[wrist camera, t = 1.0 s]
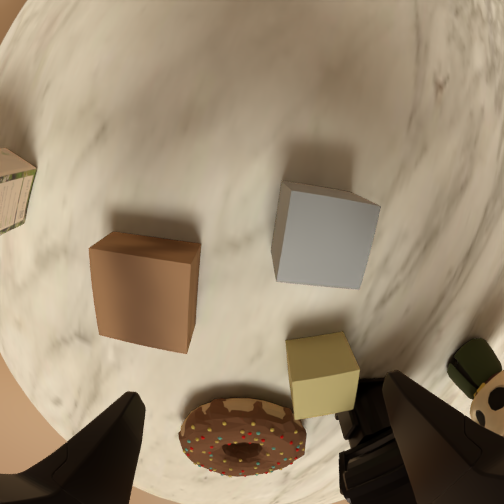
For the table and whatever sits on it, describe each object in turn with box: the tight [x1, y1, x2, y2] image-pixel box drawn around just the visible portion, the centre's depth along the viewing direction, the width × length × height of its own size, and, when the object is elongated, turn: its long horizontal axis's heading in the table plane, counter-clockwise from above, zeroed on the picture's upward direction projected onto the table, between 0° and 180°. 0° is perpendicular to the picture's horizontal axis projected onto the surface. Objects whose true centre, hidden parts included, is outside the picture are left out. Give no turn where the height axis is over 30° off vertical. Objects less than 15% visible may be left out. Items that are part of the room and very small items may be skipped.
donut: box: [178, 398, 307, 477], centre depth 25 cm, size 14×14×5 cm
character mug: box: [447, 338, 504, 437], centre depth 18 cm, size 11×7×13 cm, turn 170°
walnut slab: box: [89, 232, 201, 354], centre depth 19 cm, size 7×7×4 cm
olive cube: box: [285, 331, 360, 420], centre depth 21 cm, size 5×5×5 cm
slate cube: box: [271, 180, 381, 290], centre depth 17 cm, size 5×5×5 cm
